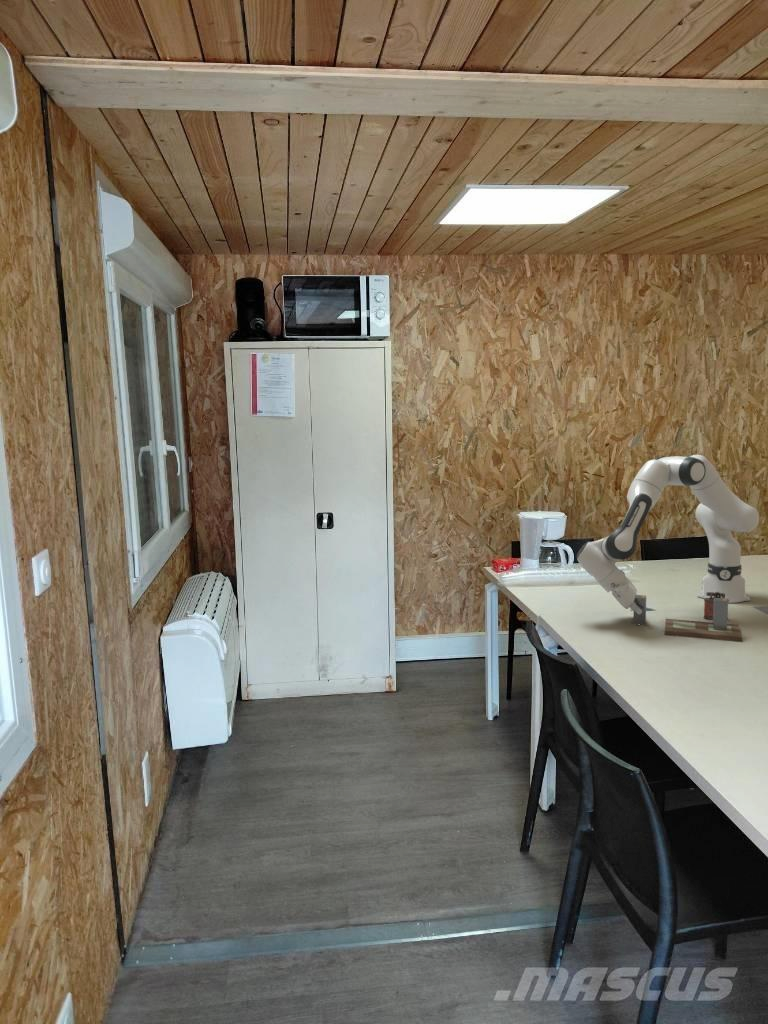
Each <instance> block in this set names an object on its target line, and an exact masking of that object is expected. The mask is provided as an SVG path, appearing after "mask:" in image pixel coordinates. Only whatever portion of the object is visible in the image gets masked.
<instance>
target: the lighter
mask: <svg viewBox="0 0 768 1024" xmlns="http://www.w3.org/2000/svg"><path fill="white" fill-rule="evenodd" d="M706 596H710V598H703V601H704V606H703V607H704V608H703V609H704V610H703V619H704V620H709V621H713V611H714V598H721V596H722V598H725V593H719V592H715V593H714V592H707V593H706ZM712 596H714V597H712ZM727 600H728V602H729V599H727ZM728 613H729V612H727V621H728V620H729V616H728V615H729V614H728Z"/></svg>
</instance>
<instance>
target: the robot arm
mask: <svg viewBox="0 0 768 1024" xmlns="http://www.w3.org/2000/svg"><path fill="white" fill-rule="evenodd" d="M666 486H672V487H673V486H674V487H675V486H678V487H679V486H687V487H689V488H690V490H691V491H692V492H693V494H694V496H695V497H696V499H697V500H698V502H699V504H698V506H697V507H696V509H695V511H694V512H695V520H696V521H697V523H699V524H700V526H701V527H702V529H703V530H704V532H705V535H706V538H707V541H708V548H709V549H708V551H709V552H708V553H709V554H708V555H709V558H708V561H709V562H708V563H707V574H706V575H704V577H703V578H702V579H701V584H702V587H701V588H702V589H701V590H700V591H699V592H698V593H697V598H701V599H704V598H710V596H706V593H707V592H714V593H715V592H719V593H725V598H727V599H729V602H728V604H731V603H732V604H734V603H735V604H737V603H741V602H746V601H751V597H750V596H749V595H748V594H746V579H745V578H744V577H743V576H742V575H741V574H742V570H743V568H742V564H741V557H742V556H741V553H742V547H741V544H740V543H739V541H738V540H737V539H735V538H734V536H733V534H732V532H737V533H741V532H743V533H744V532H745V533H747V532H752V531H754V530H755V529H756V528H757V527H758V525H759V522H760V514H759V511H758V510H757V508H755V507H753V506H751V505H749V503H746V502H745V501H743V500H742V499H740V498H739V496H737V495H736V494H735V493H734V492H733V491H732V490H730V489H729V488H728V486H727V485H726V483H725V481H724V480H723V479H722V477H721V476H720V474H719V472H718V471H717V470H716V468H715V467H714V465H713V464H712V463H711V462H710V461H709V459H708V458H707V457H705V456H704V455H701V454H693V455H690V456H680V455H675V456H659V457H656V458H654V459H650V460H647V461H646V462H645V463H644V464H643V466H641V468H640V469H639V471H638V472H637V473H636V475H635V476H634V478H633V480H632V482H631V484H630V486H629V488H628V491H627V494H626V501H627V503H628V505H629V508H628V510H627V512H626V514H625V516H624V518H623V519H622V522H621V524H620V526H619V527H618V528H617V529H616V530H615V531H613V532H612V533H611V534H610V535H608V536H605V537H603V538H600V539H597V540H594V541H587V542H585V543H584V544H583V545H582V546H581V548H579V550H578V552H577V553H576V559H577V561H578V563H579V565H580V566H581V567H582V568H583V569H584V570H585V571H586V572H587V573H588V574H589V575H590V576H592V577H593V578H594V579H595V581H596V582H597V583H598V584H599V586H600V587H602V589H603V590H604V591H606V593H610V592H611V594H612V596H613V597H614V599H615V600H616V601H617V602H618V603H619V604H620V605H621V606H622V607H623V608H624V609H626V610H628V609H631V610H632V611H633V612H634V611H635V612H636V613H637V614H641V613H642V609H641V608H640V607H638V606H637V605H636V604H635V603H634V600H635V596H636V595H638V594H637V592H638V590H637V588H636V586H635V585H634V584H633V582H632V581H630V579H629V578H628V577H627V576H626V573H625V571H623V570H622V569H620V568H619V567H618V566H616V563H618V561H621V560H627V559H629V558H631V557H632V556H633V555H634V554H635V552H636V549H637V544H638V543H637V541H638V534H639V532H640V529H641V527H642V526H643V524H644V522H645V519H646V517H647V515H648V514H649V512H651V510H652V509H653V507H655V506H656V504H657V502H658V501H659V499H660V498H661V496H662V494H663V492H664V489H666V488H665V487H666ZM712 597H714V596H712ZM721 598H722V596H721Z"/></svg>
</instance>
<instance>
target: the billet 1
mask: <svg viewBox="0 0 768 1024" xmlns="http://www.w3.org/2000/svg"><path fill="white" fill-rule="evenodd" d="M634 603H635V604H636V605H637V606H638V607H640V608H641V609H642V613H641V614H637V613H636V612H635V611H634V610H633V617H632V618H633V620H632V622H633V624H640V625H639V626H641V625H645V624H646V623H647V595H645V594H637V595H636V596H635V600H634ZM645 626H646V625H645Z"/></svg>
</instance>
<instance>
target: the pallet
mask: <svg viewBox="0 0 768 1024" xmlns="http://www.w3.org/2000/svg"><path fill="white" fill-rule="evenodd" d="M665 634H669V636H676V635H678V637H687V636H688V638H689V637H691V638H701V639H709V638H710V639H709V640H712V639H713V640H720V639H721V640H723V641H732V642H742V638H743V637H742V634H741V630H740V626H739V624H737V623H727V631H725V630H713V621H702V620H701V621H700V620H688V619H676V618H665V625H664V635H665ZM721 640H720V641H721Z"/></svg>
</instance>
